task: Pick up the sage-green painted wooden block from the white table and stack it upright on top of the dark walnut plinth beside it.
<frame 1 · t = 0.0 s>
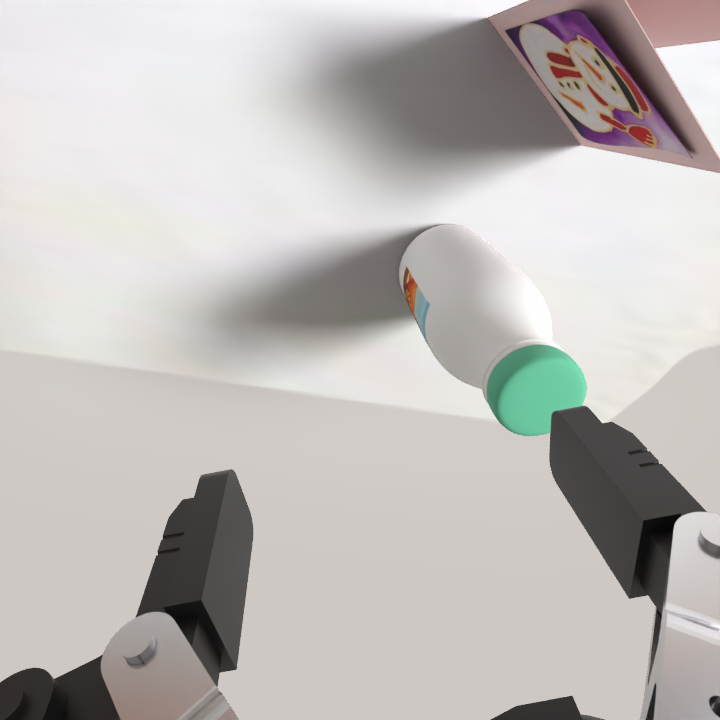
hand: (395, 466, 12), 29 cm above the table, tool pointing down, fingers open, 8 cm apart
greeting card: (568, 51, 34), on the table
milk bottle: (442, 268, 41), on the table
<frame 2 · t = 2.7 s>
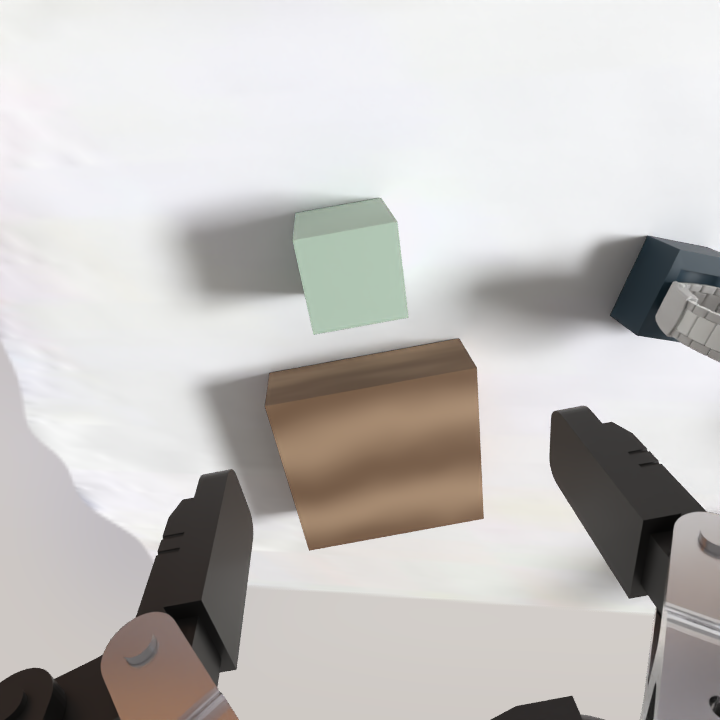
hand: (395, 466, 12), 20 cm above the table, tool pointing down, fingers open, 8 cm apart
watch: (656, 280, 33), on the table
block: (345, 247, 29), on the table
plinth: (377, 431, 36), on the table
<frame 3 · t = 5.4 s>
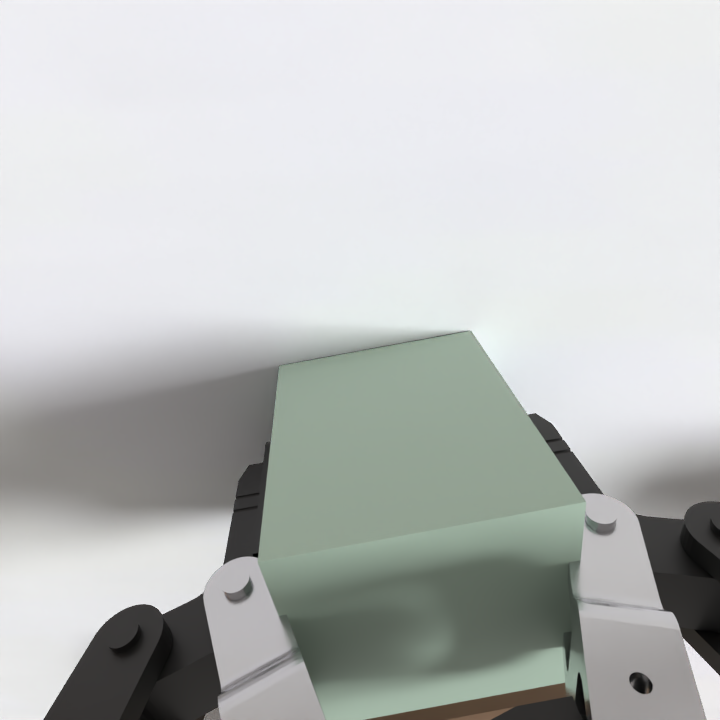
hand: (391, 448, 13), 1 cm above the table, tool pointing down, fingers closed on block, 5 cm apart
block: (387, 425, 14), on the table, touching gripper
plinth: (430, 691, 21), on the table
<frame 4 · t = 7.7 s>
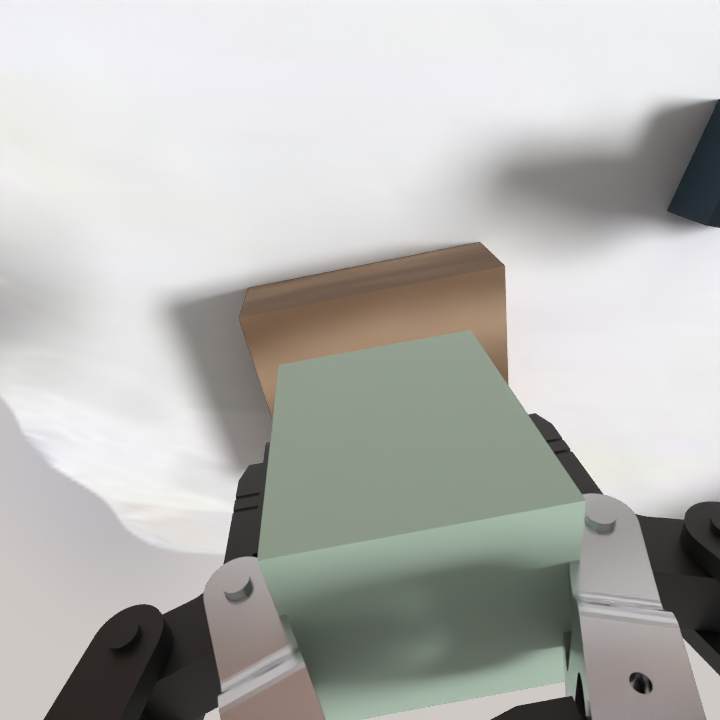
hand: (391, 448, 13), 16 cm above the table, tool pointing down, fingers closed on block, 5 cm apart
block: (387, 424, 14), point 15 cm above the table, touching gripper
plinth: (381, 365, 30), on the table
when the fingers open (6 cm above the table, at t = 10.3 s): block drops 1 cm, resting on plinth.
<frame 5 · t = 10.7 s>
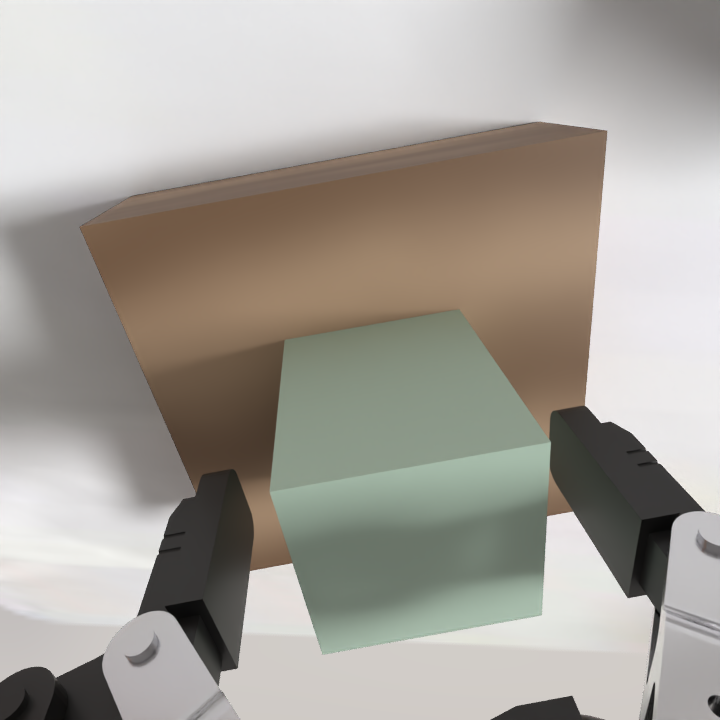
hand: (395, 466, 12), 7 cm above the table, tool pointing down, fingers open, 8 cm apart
block: (383, 397, 15), point 4 cm above the table, touching plinth
plinth: (366, 340, 19), on the table
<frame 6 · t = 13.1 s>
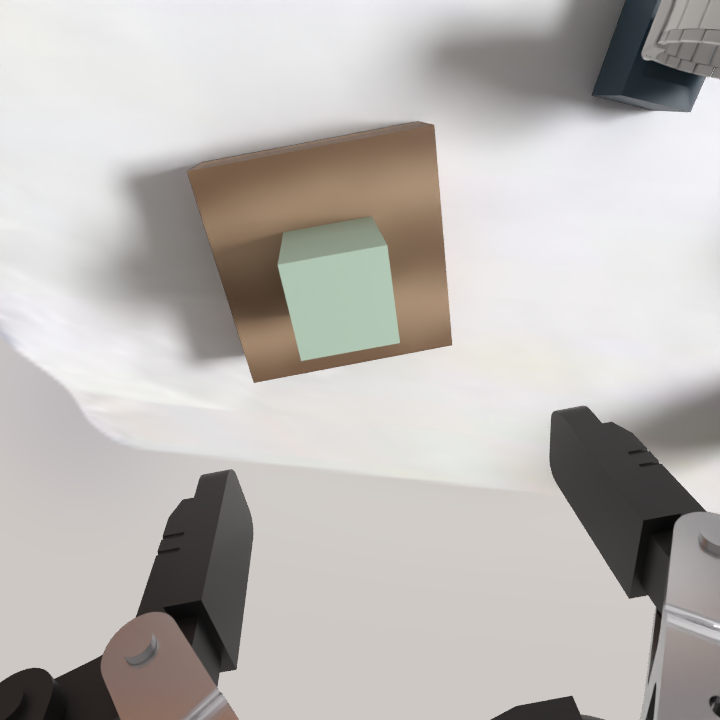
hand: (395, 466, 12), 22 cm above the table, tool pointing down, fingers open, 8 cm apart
watch: (644, 49, 28), on the table
block: (335, 267, 28), point 4 cm above the table, touching plinth
plinth: (331, 249, 32), on the table
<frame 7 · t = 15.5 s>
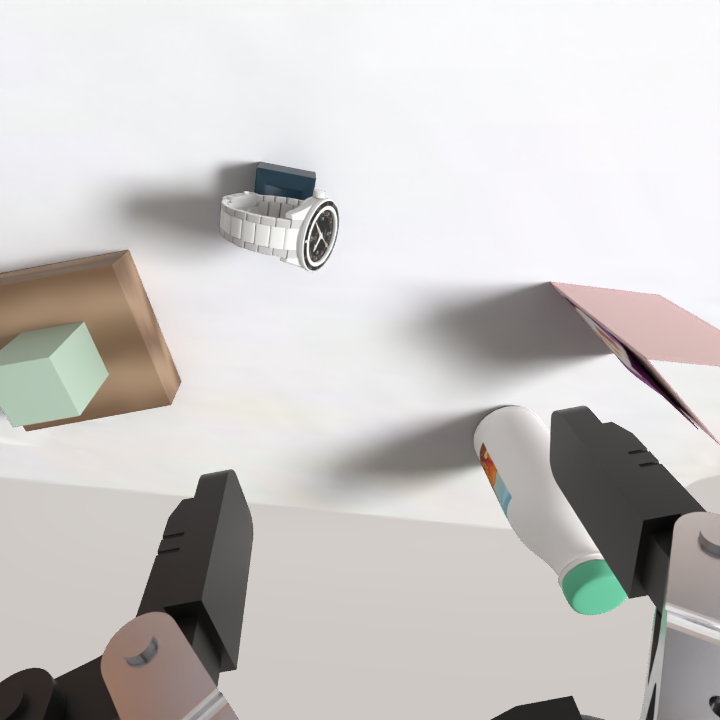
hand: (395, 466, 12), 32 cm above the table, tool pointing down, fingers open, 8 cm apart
watch: (285, 201, 40), on the table
greeting card: (606, 297, 47), on the table
milk bottle: (505, 431, 54), on the table
block: (66, 354, 40), point 4 cm above the table, touching plinth
plinth: (85, 333, 44), on the table
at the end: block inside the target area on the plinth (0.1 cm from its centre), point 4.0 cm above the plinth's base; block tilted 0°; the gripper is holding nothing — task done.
